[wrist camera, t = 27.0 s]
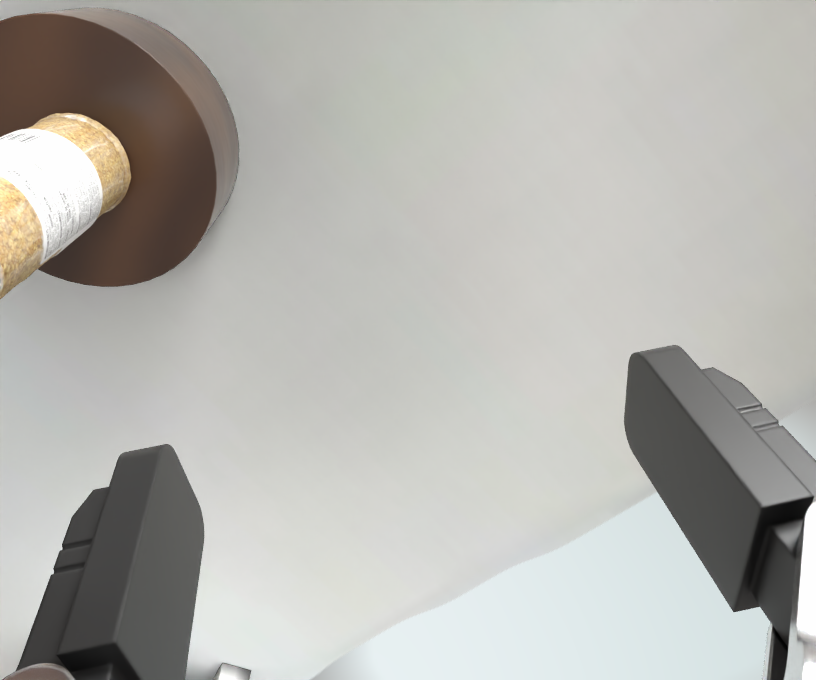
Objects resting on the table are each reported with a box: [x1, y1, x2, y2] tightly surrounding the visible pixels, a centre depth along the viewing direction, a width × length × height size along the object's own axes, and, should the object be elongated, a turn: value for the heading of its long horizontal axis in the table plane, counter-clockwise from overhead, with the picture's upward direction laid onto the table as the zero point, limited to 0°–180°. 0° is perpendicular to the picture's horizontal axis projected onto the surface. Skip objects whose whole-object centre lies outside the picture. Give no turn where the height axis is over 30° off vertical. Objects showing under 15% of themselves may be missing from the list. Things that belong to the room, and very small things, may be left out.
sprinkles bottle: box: [0, 113, 131, 299], centre depth 23 cm, size 5×5×14 cm
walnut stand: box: [0, 8, 239, 287], centre depth 31 cm, size 12×12×5 cm
